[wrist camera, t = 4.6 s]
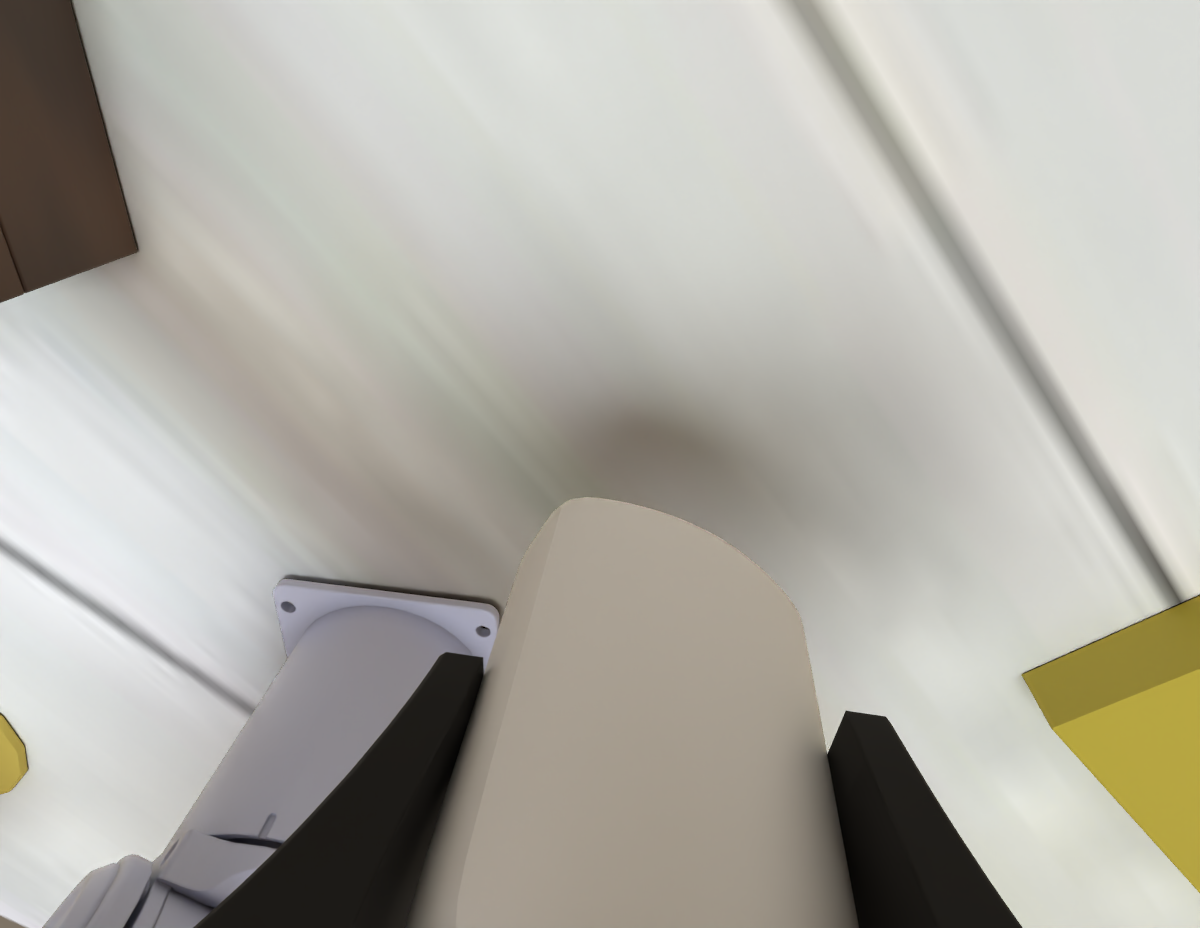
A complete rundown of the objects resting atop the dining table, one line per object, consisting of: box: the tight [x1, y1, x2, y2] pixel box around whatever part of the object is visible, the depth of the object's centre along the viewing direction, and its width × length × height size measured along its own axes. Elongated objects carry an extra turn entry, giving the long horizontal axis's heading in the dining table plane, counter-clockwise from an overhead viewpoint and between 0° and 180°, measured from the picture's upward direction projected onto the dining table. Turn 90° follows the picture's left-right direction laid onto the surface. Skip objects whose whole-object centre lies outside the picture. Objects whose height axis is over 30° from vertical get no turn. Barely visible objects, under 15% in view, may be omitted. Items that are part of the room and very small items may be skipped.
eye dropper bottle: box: [405, 497, 859, 928], centre depth 9 cm, size 4×6×12 cm
